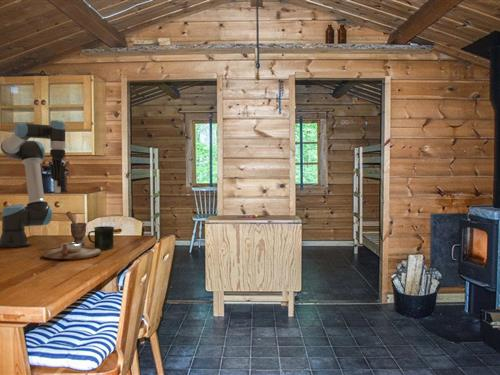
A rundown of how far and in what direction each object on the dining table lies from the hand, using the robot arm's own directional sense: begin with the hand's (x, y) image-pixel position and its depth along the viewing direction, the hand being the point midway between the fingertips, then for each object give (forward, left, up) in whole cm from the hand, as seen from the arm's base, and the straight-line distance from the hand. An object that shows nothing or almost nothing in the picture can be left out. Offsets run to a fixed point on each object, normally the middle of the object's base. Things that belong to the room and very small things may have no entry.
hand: (57, 192), depth 244 cm
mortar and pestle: (-8, +17, -32) cm, 38 cm away
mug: (+11, +20, -32) cm, 40 cm away
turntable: (+17, -3, -32) cm, 36 cm away
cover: (+16, -3, -30) cm, 34 cm away
